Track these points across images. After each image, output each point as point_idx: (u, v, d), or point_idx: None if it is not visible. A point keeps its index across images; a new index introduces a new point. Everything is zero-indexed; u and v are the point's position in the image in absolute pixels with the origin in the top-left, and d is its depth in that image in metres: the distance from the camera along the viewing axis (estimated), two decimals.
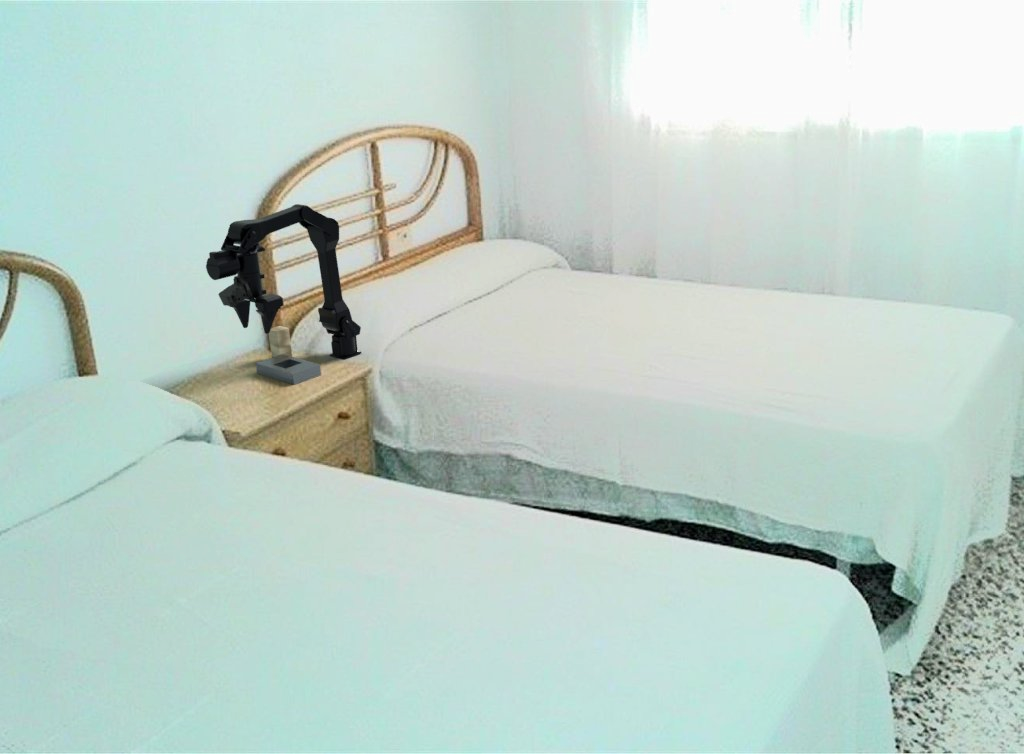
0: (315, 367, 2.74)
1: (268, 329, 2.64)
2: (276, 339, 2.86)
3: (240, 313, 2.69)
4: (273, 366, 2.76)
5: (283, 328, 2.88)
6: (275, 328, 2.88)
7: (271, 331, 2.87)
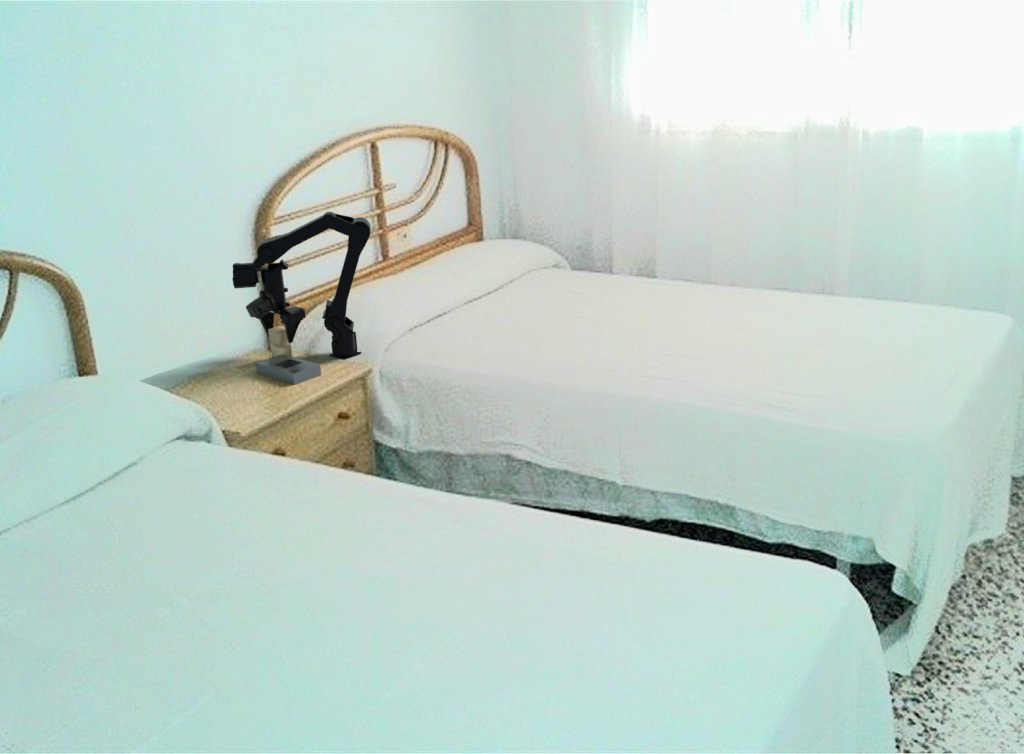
0: (315, 367, 2.74)
1: (291, 338, 2.85)
2: (276, 339, 2.86)
3: (265, 324, 2.90)
4: (273, 366, 2.76)
5: (283, 328, 2.88)
6: (275, 328, 2.88)
7: (271, 331, 2.87)
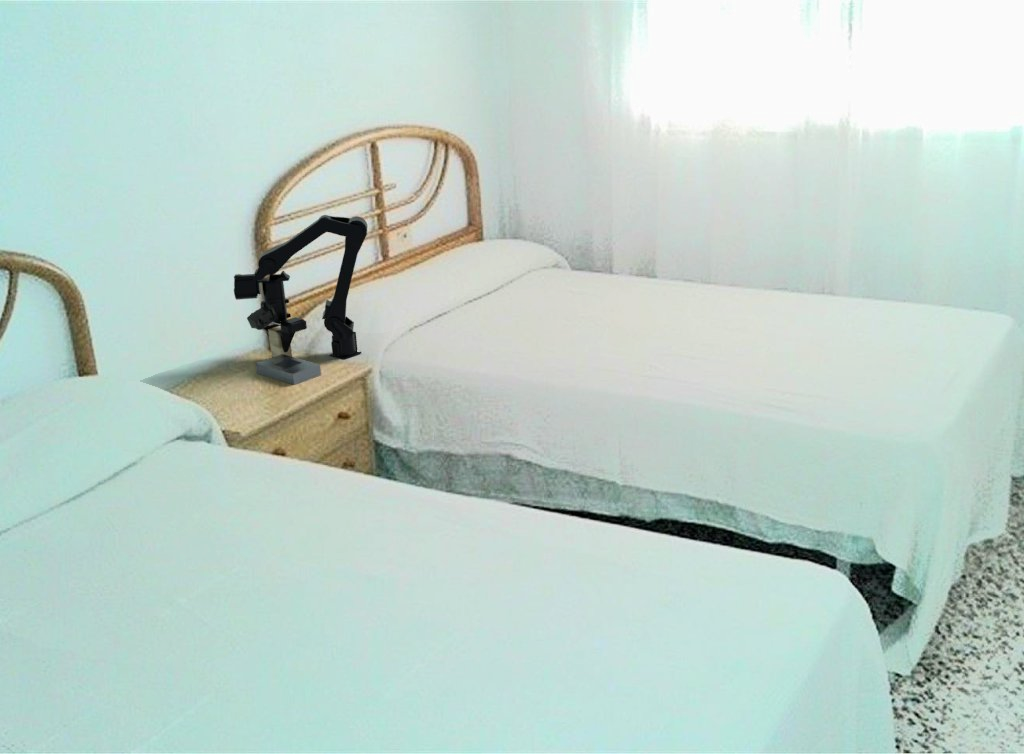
0: (315, 367, 2.74)
1: (287, 348, 2.88)
2: (276, 339, 2.86)
3: None
4: (273, 366, 2.76)
5: None
6: (275, 328, 2.88)
7: (271, 331, 2.87)
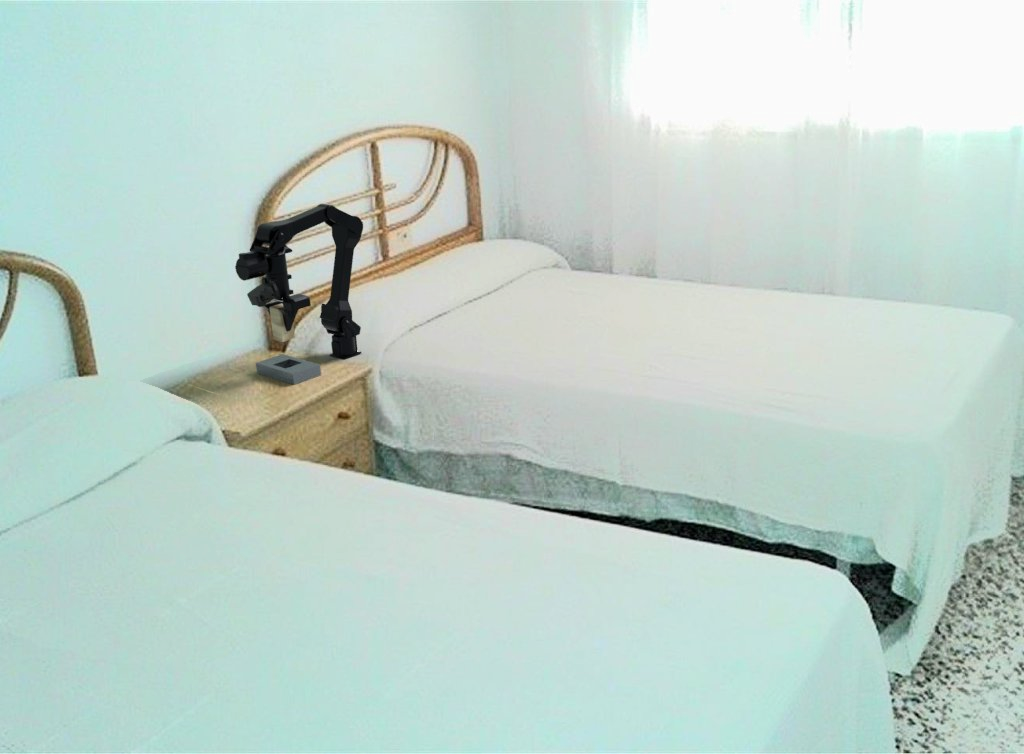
0: (315, 367, 2.74)
1: (289, 326, 2.72)
2: (277, 317, 2.71)
3: None
4: (273, 366, 2.76)
5: None
6: (277, 306, 2.72)
7: (272, 309, 2.71)
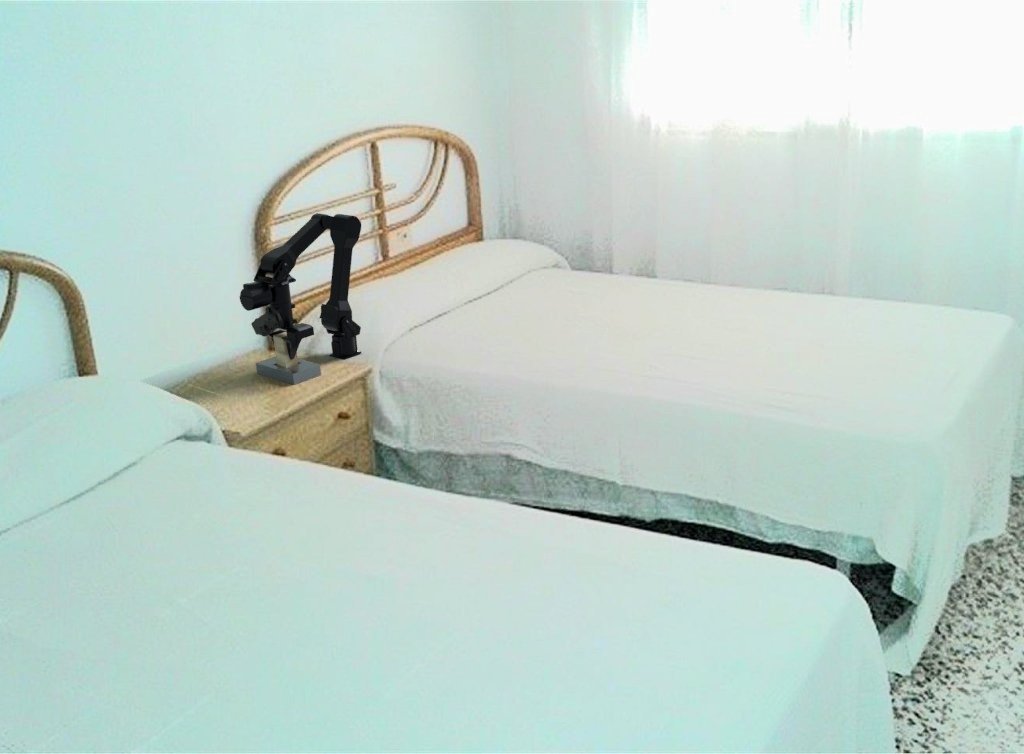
0: (315, 367, 2.74)
1: (293, 355, 2.75)
2: (281, 346, 2.73)
3: None
4: (273, 366, 2.76)
5: None
6: (280, 334, 2.75)
7: (276, 337, 2.74)
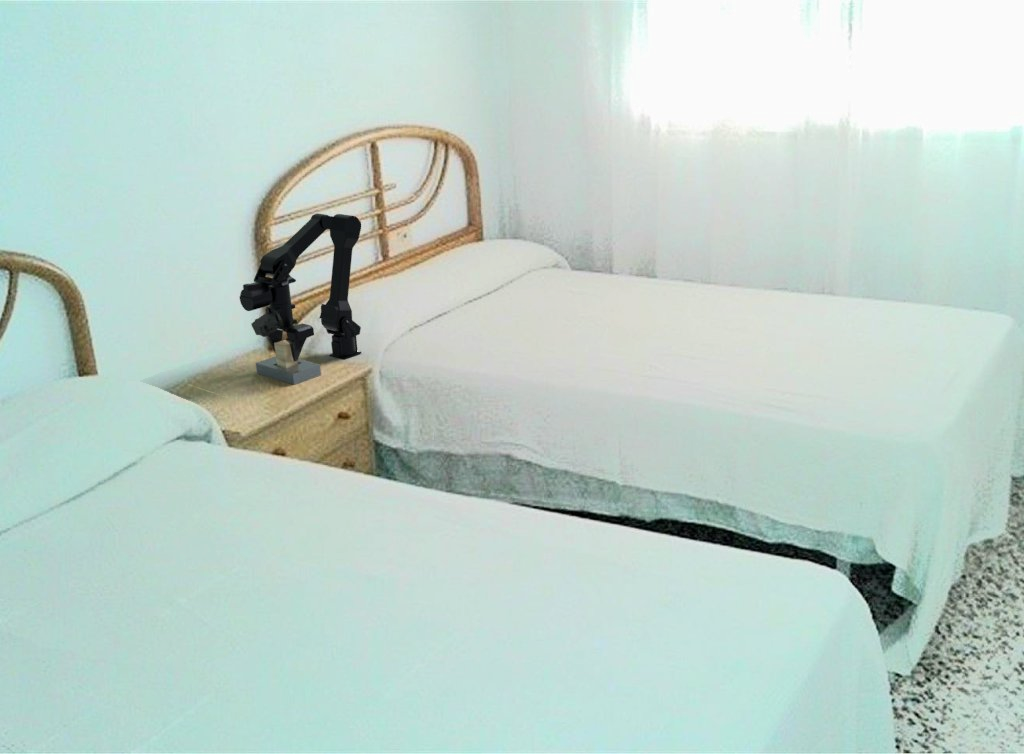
0: (315, 367, 2.74)
1: (297, 356, 2.74)
2: (282, 353, 2.74)
3: (273, 342, 2.77)
4: (273, 366, 2.76)
5: None
6: (281, 342, 2.76)
7: (277, 345, 2.74)
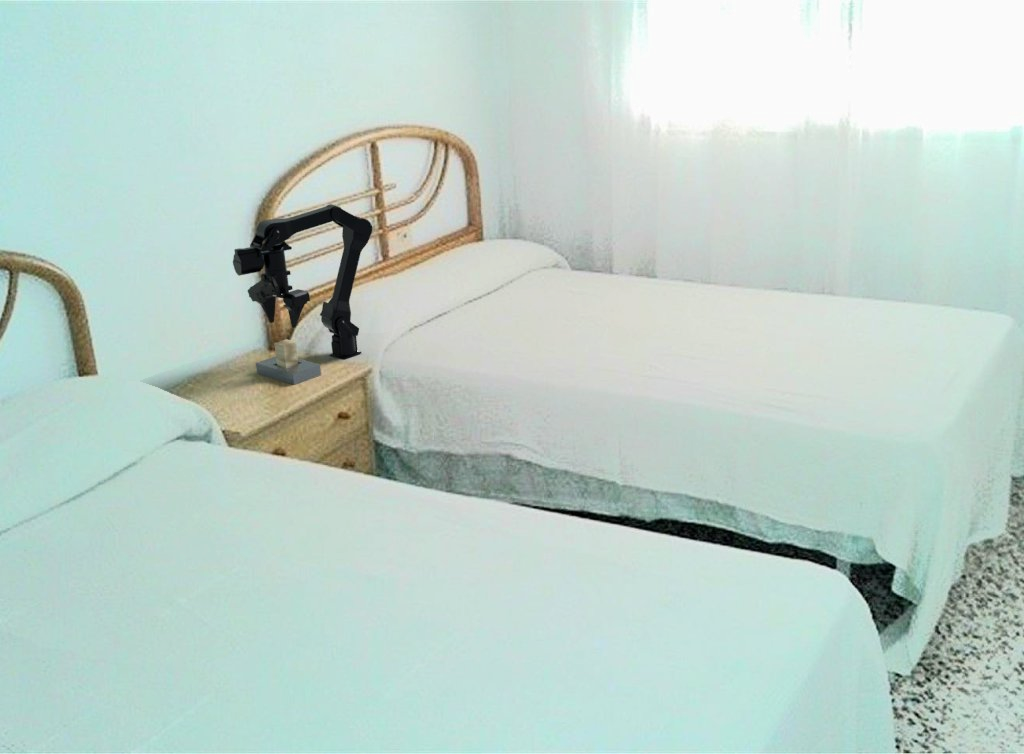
0: (315, 367, 2.74)
1: (295, 323, 2.76)
2: (282, 353, 2.74)
3: (266, 309, 2.80)
4: (273, 366, 2.76)
5: (290, 342, 2.75)
6: (281, 342, 2.76)
7: (277, 345, 2.74)
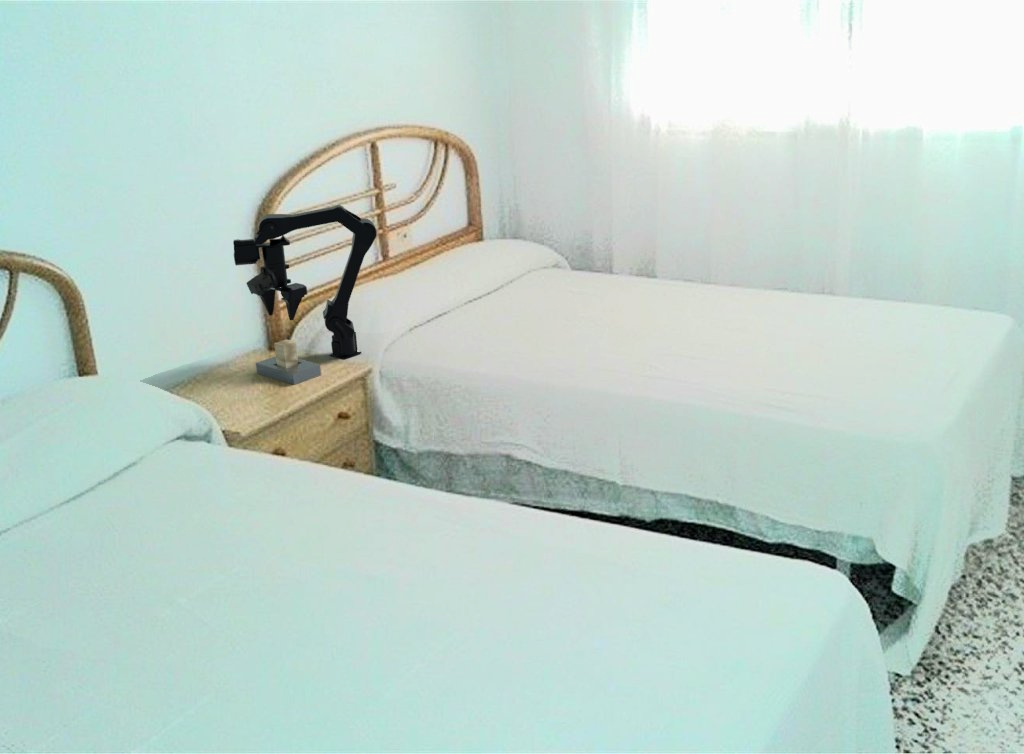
0: (315, 367, 2.74)
1: (293, 316, 2.82)
2: (282, 353, 2.74)
3: (266, 301, 2.86)
4: (273, 366, 2.76)
5: (290, 342, 2.75)
6: (281, 342, 2.76)
7: (277, 345, 2.74)
